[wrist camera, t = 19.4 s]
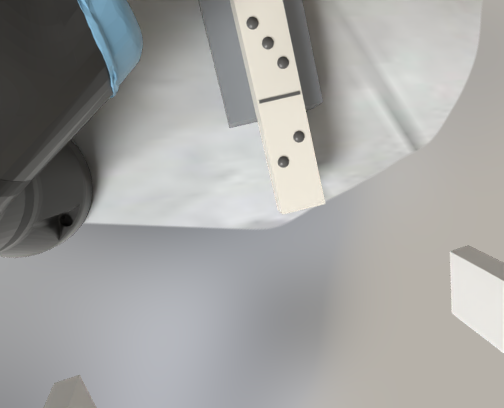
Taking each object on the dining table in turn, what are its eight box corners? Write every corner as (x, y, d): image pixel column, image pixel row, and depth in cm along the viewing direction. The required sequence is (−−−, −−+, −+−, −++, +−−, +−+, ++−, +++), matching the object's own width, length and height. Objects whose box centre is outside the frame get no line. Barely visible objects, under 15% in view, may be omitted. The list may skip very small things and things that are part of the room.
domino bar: (277, 210, 36) (282, 214, 33) (228, -4, 33) (229, -21, 30) (317, 200, 37) (325, 203, 34) (271, -13, 34) (276, -31, 31)
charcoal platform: (229, 128, 39) (230, 123, 35) (198, 1, 37) (195, -19, 33) (313, 108, 39) (323, 101, 35) (286, -18, 38) (293, -40, 34)
